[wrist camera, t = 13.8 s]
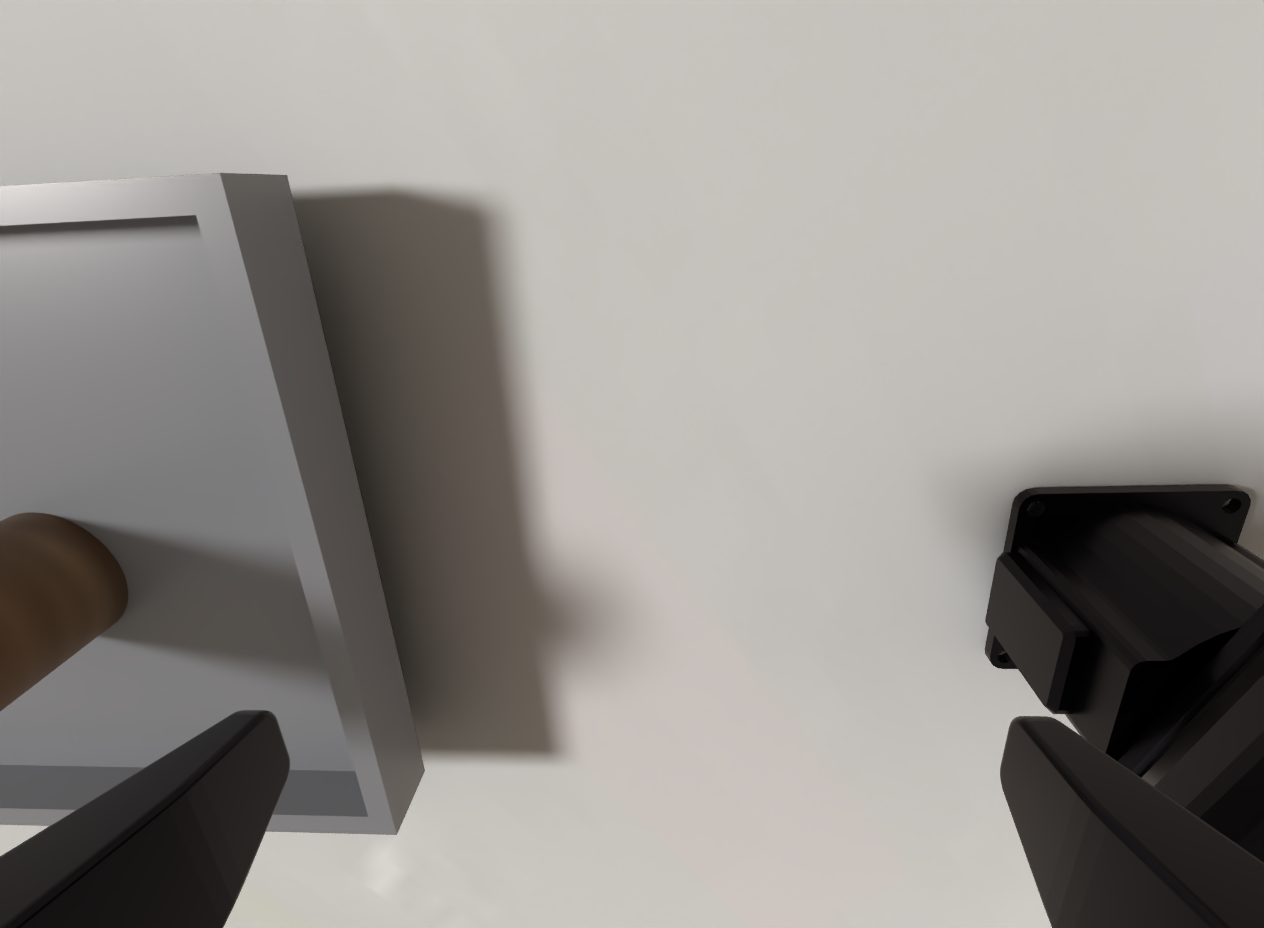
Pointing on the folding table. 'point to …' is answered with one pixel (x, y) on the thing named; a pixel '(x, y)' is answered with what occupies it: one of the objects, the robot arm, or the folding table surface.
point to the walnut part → (51, 597)
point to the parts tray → (193, 498)
